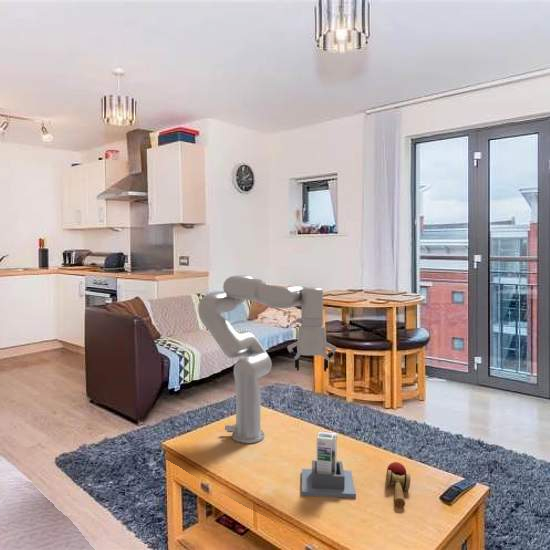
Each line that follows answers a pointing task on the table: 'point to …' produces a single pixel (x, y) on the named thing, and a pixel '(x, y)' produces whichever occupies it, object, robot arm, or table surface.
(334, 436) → the syrup box
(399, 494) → the kendama
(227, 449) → the table surface
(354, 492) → the socket board
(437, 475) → the table surface
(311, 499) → the table surface
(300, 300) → the robot arm
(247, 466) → the table surface
